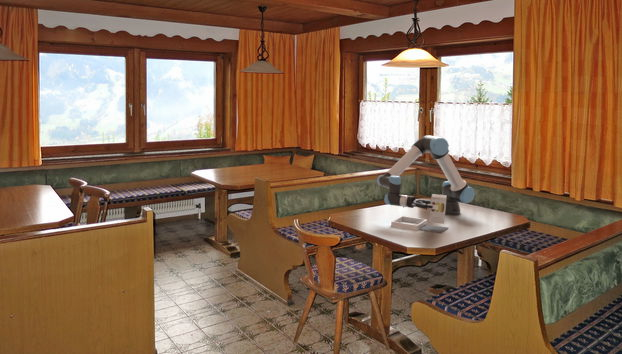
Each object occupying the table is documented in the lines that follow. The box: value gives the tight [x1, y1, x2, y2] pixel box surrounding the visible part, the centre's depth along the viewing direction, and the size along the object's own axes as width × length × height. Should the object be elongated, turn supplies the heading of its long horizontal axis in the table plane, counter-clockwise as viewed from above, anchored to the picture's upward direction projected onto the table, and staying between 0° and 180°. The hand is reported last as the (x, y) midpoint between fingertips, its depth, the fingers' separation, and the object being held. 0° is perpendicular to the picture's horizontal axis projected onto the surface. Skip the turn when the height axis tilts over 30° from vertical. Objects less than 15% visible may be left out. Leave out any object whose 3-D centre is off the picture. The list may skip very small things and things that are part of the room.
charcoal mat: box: [419, 223, 449, 234], centre depth 339 cm, size 14×14×1 cm
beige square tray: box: [390, 215, 428, 231], centre depth 349 cm, size 19×18×3 cm
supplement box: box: [428, 193, 447, 225], centre depth 336 cm, size 10×9×17 cm
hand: (441, 205), depth 335 cm, fingers closed on supplement box, 11 cm apart
